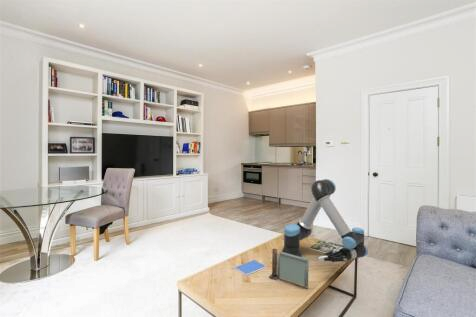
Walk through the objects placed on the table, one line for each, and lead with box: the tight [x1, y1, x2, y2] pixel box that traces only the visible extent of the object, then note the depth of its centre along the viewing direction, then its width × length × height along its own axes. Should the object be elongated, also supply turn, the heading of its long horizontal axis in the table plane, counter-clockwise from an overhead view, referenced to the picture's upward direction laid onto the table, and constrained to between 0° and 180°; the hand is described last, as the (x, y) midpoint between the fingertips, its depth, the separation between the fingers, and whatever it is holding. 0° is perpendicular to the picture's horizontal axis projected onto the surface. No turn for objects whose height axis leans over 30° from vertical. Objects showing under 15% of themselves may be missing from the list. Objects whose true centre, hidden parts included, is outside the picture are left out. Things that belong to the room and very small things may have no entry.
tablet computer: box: [234, 259, 267, 276], centre depth 165 cm, size 19×13×1 cm, turn 130°
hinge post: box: [268, 248, 280, 281], centre depth 152 cm, size 5×5×18 cm
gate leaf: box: [277, 251, 310, 288], centre depth 145 cm, size 20×3×16 cm, turn 55°
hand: (319, 259), depth 149 cm, fingers closed
